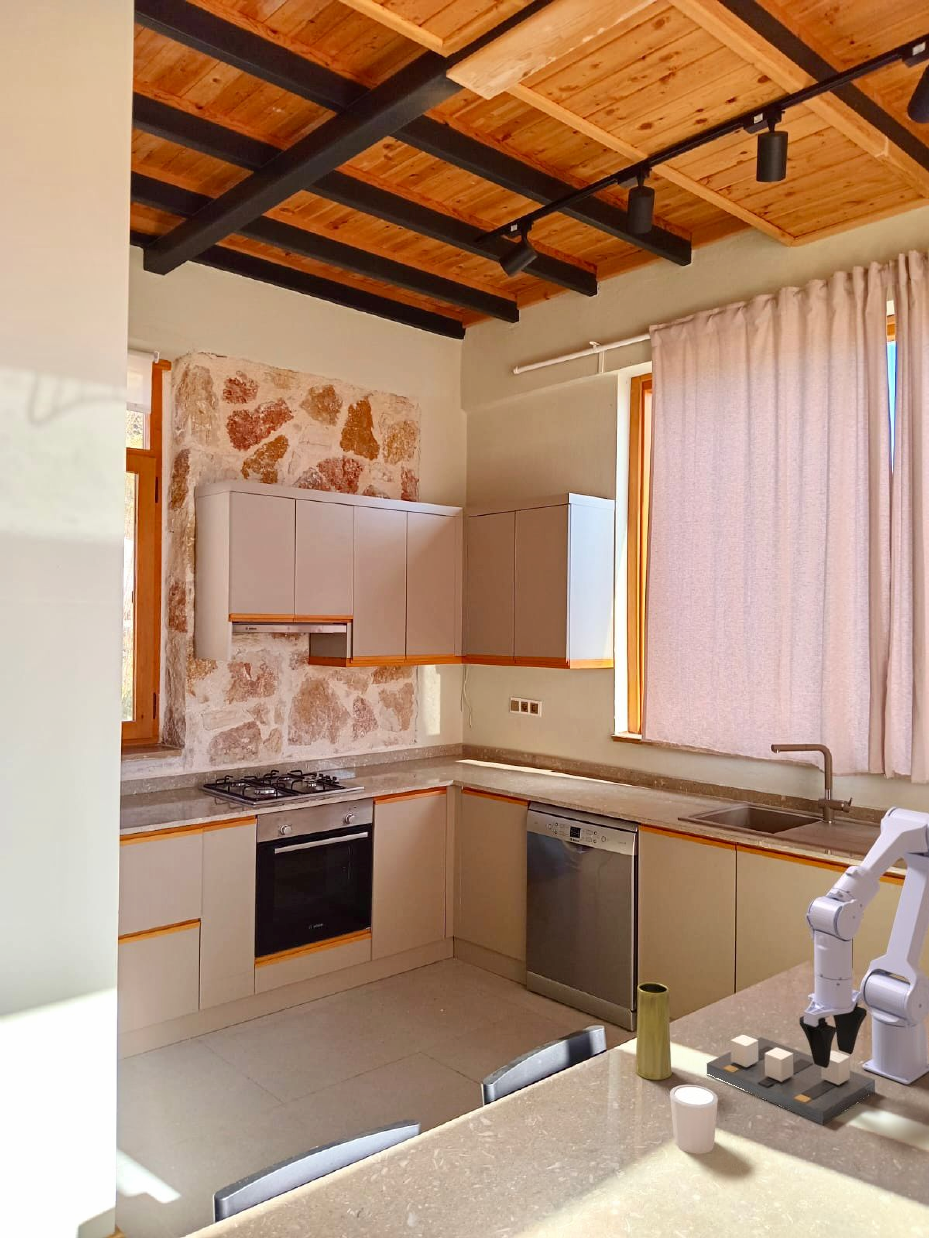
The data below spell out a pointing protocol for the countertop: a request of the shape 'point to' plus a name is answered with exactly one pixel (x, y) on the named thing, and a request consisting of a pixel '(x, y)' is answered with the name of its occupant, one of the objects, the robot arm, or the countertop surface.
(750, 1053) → the switch
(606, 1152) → the countertop surface
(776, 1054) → the switch
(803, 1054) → the console
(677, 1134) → the white cup
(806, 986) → the countertop surface
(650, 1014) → the vase
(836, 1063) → the switch
